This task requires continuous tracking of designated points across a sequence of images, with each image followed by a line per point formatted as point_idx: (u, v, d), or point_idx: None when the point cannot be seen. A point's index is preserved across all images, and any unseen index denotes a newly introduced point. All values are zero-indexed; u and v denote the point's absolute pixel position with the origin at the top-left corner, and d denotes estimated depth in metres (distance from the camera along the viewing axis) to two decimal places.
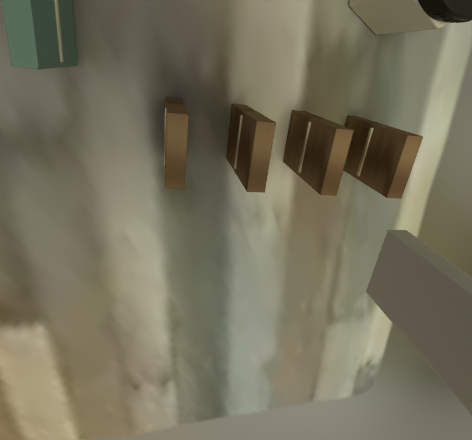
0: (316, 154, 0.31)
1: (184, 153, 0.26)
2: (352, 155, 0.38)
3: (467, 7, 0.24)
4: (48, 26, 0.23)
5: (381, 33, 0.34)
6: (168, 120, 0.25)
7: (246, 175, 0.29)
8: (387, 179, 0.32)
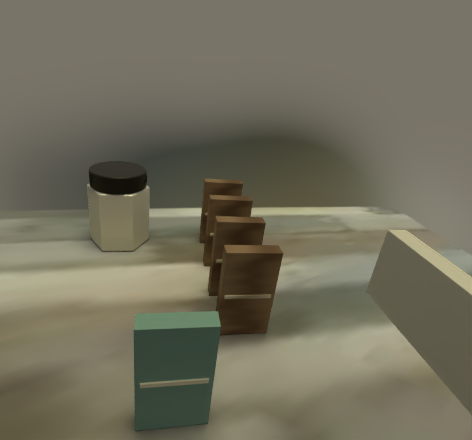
0: None
1: (252, 245, 0.35)
2: None
3: (141, 170, 0.49)
4: None
5: (148, 232, 0.54)
6: (231, 252, 0.33)
7: (255, 229, 0.40)
8: (232, 187, 0.52)
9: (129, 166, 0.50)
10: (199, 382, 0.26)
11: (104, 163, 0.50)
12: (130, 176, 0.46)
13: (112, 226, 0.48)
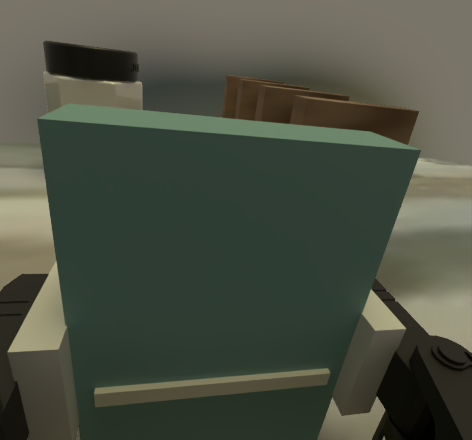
0: None
1: (350, 101, 0.17)
2: None
3: None
4: None
5: None
6: (317, 99, 0.15)
7: None
8: None
9: None
10: (298, 383, 0.08)
11: None
12: (110, 49, 0.29)
13: None
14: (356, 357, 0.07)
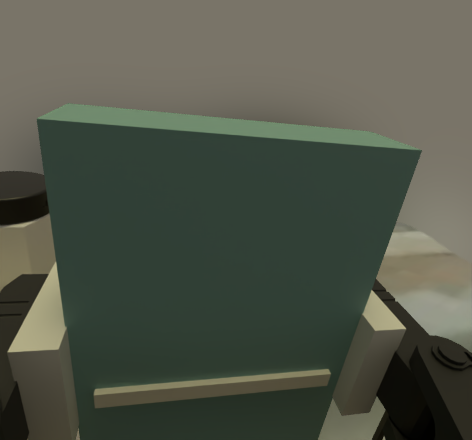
0: None
1: None
2: None
3: (43, 186, 0.32)
4: None
5: None
6: None
7: None
8: None
9: (28, 179, 0.34)
10: (298, 384, 0.08)
11: None
12: (17, 196, 0.30)
13: None
14: (356, 357, 0.07)
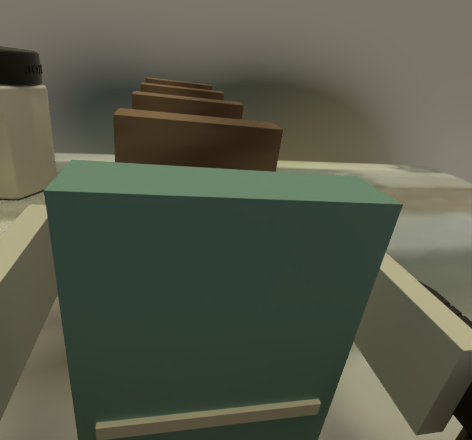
0: None
1: None
2: None
3: None
4: None
5: (55, 173, 0.32)
6: (131, 115, 0.11)
7: None
8: None
9: (8, 48, 0.28)
10: (290, 413, 0.08)
11: None
12: None
13: None
14: (436, 376, 0.07)
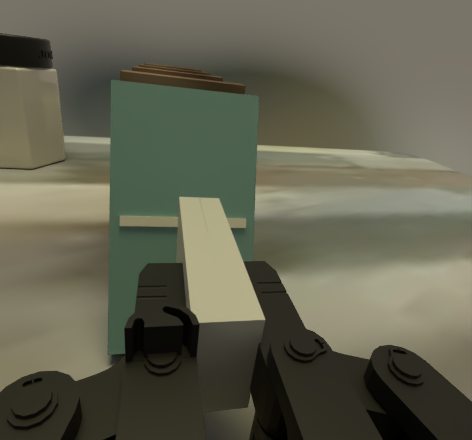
0: None
1: None
2: None
3: None
4: None
5: (63, 148, 0.36)
6: (132, 72, 0.15)
7: None
8: None
9: None
10: (229, 225, 0.14)
11: None
12: (11, 35, 0.29)
13: None
14: None
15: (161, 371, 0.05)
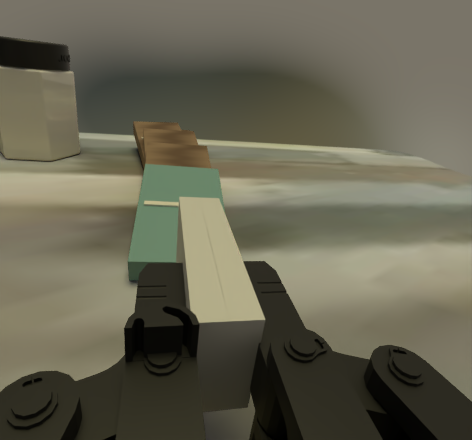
0: None
1: None
2: None
3: None
4: None
5: (78, 143, 0.40)
6: None
7: (185, 134, 0.39)
8: None
9: None
10: None
11: None
12: (35, 41, 0.32)
13: (15, 119, 0.34)
14: None
15: (161, 371, 0.05)
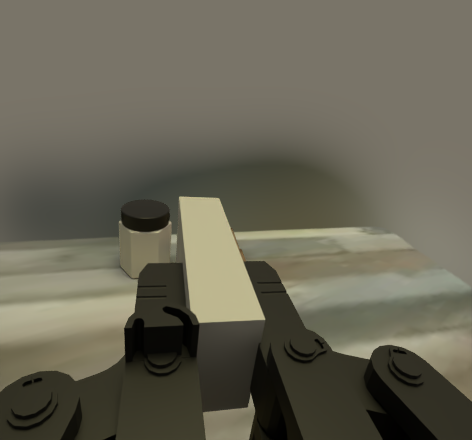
0: None
1: None
2: None
3: (165, 209, 0.57)
4: None
5: (169, 260, 0.62)
6: None
7: None
8: None
9: (154, 205, 0.58)
10: None
11: (132, 202, 0.58)
12: (157, 216, 0.54)
13: (141, 257, 0.56)
14: None
15: (161, 371, 0.05)
